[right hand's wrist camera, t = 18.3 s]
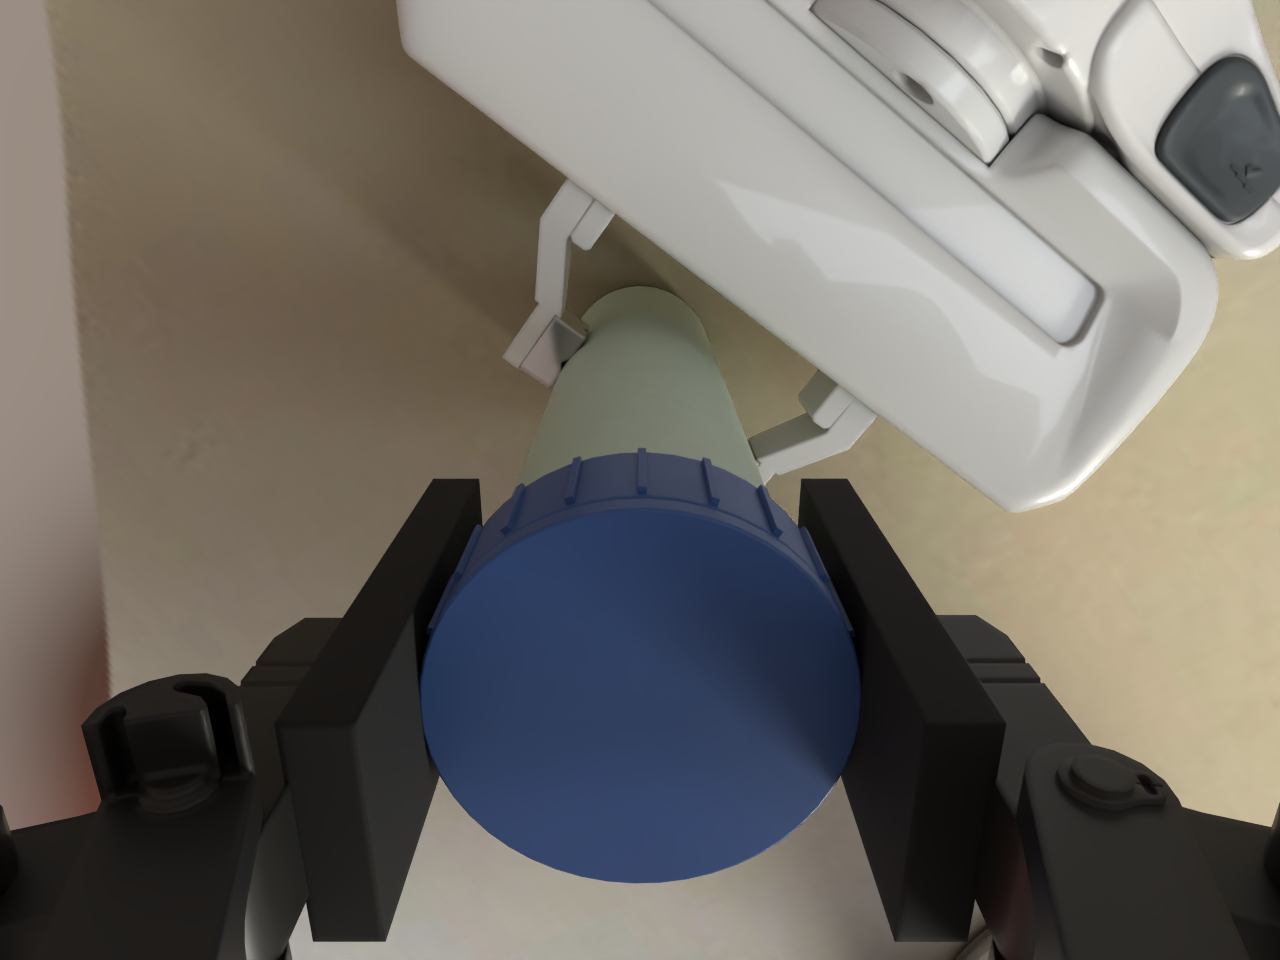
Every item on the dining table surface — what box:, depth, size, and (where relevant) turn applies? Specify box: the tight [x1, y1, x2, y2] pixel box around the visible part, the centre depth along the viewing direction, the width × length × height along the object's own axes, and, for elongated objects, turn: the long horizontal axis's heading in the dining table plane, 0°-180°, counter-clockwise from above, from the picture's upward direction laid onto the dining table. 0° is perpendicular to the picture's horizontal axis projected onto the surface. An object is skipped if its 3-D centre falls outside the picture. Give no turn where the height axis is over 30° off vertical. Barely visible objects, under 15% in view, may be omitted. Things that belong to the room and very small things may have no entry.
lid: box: [419, 448, 861, 883], centre depth 11 cm, size 6×5×2 cm
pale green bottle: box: [512, 286, 766, 496], centre depth 20 cm, size 5×5×19 cm
